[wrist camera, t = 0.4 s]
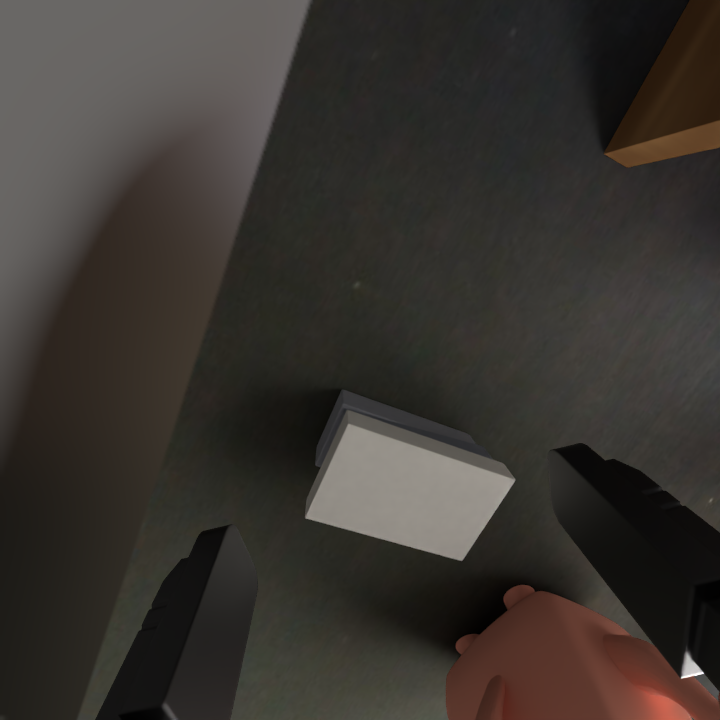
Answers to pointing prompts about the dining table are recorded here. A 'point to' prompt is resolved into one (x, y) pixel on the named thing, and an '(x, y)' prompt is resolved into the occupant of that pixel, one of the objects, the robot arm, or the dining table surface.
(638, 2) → the dining table surface
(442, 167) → the dining table surface
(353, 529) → the white book
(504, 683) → the teapot
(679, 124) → the shelf
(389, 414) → the grey books
